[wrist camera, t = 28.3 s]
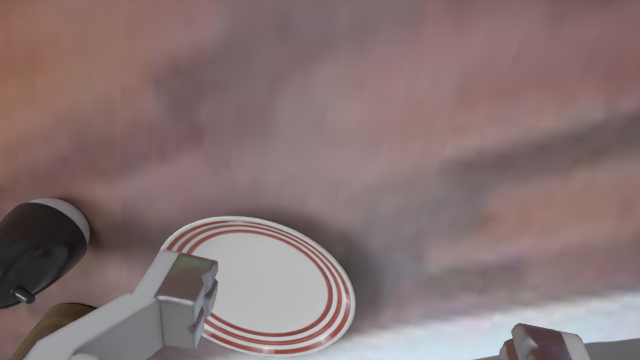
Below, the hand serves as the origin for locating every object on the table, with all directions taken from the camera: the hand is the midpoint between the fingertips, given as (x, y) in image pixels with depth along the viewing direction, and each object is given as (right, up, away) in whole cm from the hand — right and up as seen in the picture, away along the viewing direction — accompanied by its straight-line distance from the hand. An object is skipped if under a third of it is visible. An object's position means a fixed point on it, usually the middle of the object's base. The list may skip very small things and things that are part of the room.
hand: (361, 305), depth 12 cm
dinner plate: (-10, -10, +50) cm, 52 cm away
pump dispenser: (-36, -1, +48) cm, 60 cm away
